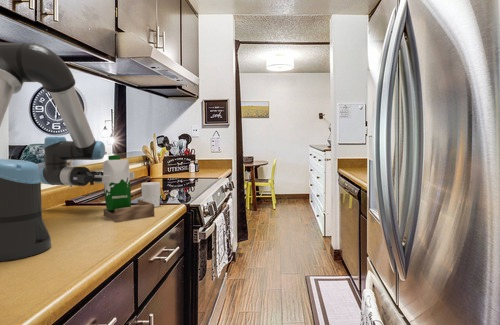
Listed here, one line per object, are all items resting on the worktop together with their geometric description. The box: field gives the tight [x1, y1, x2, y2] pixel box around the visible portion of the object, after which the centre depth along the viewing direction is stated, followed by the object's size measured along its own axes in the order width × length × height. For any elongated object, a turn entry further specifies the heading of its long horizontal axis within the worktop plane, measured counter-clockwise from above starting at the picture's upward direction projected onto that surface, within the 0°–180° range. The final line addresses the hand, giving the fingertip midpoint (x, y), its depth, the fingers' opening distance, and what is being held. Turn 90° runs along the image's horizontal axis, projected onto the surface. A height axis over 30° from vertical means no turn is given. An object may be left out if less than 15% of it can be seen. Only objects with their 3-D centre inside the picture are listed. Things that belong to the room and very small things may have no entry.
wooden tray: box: [102, 198, 155, 223], centre depth 121 cm, size 14×14×4 cm
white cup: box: [140, 181, 161, 208], centre depth 139 cm, size 8×8×10 cm
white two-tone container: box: [102, 154, 132, 210], centre depth 119 cm, size 9×9×20 cm
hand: (122, 177), depth 122 cm, fingers open, 13 cm apart
